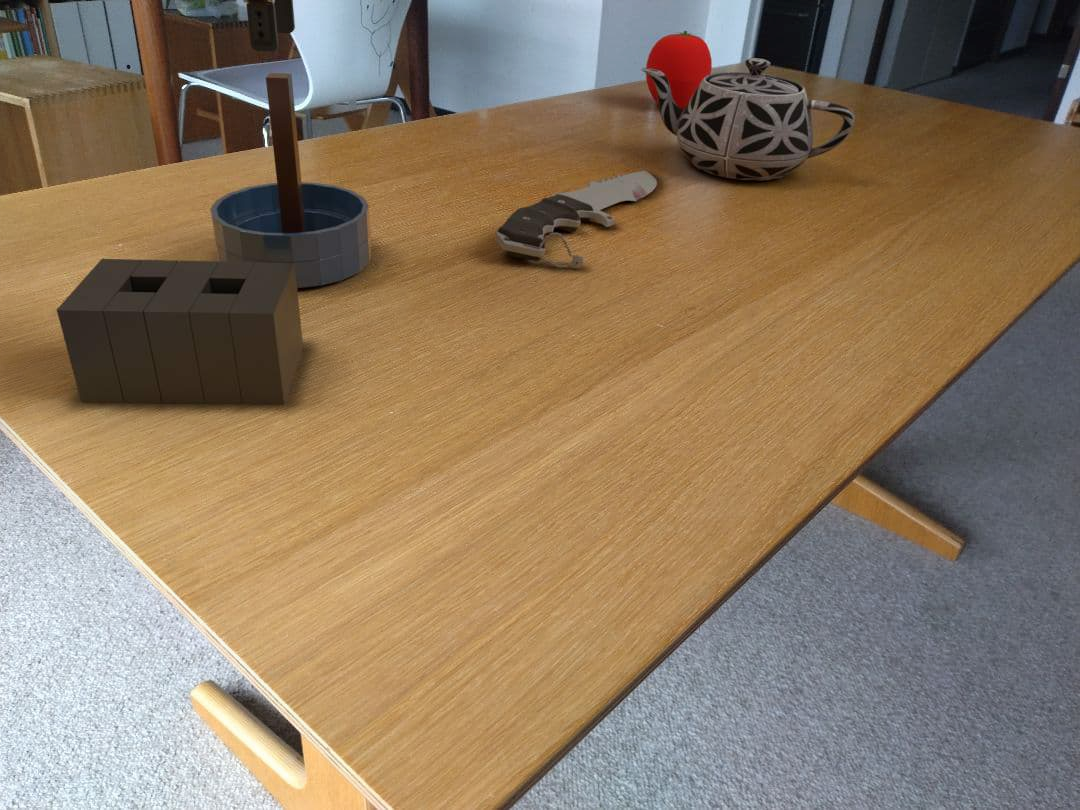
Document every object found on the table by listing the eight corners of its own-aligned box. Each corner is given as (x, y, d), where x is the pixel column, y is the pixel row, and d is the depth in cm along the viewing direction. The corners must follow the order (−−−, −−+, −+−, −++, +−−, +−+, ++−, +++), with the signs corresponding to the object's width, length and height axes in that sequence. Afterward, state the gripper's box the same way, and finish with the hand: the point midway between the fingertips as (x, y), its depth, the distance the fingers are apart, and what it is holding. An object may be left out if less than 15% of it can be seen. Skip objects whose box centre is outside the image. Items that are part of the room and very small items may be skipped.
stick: (285, 260, 90) (265, 77, 80) (288, 252, 91) (269, 72, 82) (305, 260, 90) (287, 78, 80) (308, 253, 92) (291, 73, 82)
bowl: (202, 292, 84) (192, 232, 81) (238, 232, 97) (230, 179, 94) (363, 295, 85) (359, 237, 82) (377, 236, 98) (374, 184, 95)
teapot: (649, 135, 140) (661, 34, 132) (846, 167, 131) (872, 61, 123) (611, 166, 125) (622, 55, 117) (831, 205, 116) (859, 87, 108)
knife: (590, 168, 123) (592, 138, 121) (662, 180, 120) (666, 150, 118) (483, 260, 94) (483, 223, 92) (574, 279, 91) (577, 241, 89)
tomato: (670, 119, 149) (680, 39, 142) (630, 104, 156) (638, 27, 149) (718, 113, 154) (731, 35, 147) (678, 98, 162) (688, 24, 155)
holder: (81, 403, 67) (55, 309, 63) (121, 345, 75) (101, 258, 70) (284, 406, 68) (273, 313, 64) (303, 348, 76) (294, 262, 72)
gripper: (227, -175, 76) (248, 25, 85) (181, -178, 64) (212, 54, 73) (314, -168, 77) (327, 29, 86) (285, -171, 65) (304, 59, 74)
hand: (274, 40), depth 79 cm, fingers open, 8 cm apart
